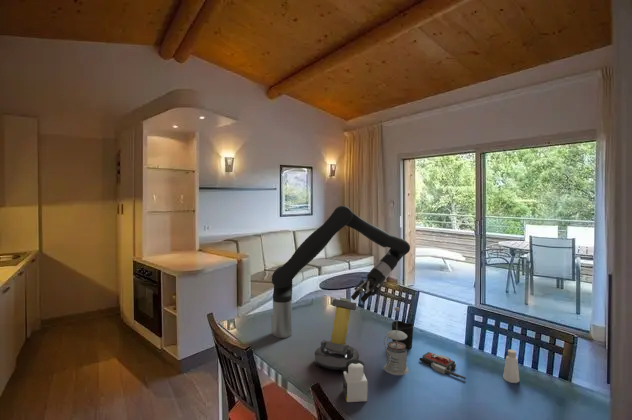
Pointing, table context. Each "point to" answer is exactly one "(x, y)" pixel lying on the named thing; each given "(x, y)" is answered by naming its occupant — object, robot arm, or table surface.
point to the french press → (398, 359)
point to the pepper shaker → (511, 367)
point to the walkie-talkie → (440, 363)
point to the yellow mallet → (340, 325)
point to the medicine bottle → (355, 382)
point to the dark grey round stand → (334, 357)
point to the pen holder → (405, 328)
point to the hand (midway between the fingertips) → (357, 299)
